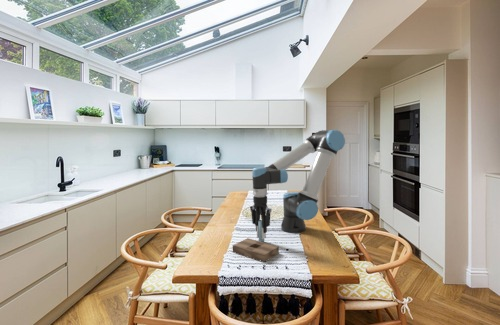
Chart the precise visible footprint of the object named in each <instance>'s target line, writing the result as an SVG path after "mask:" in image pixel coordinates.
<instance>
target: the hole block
mask: <svg viewBox="0 0 500 325" xmlns="http://www.w3.org/2000/svg"><path fill="white" fill-rule="evenodd" d="M279 248H280V247H279V246H278V245H275V244H271V243H267V242H265V241H264V242H260V241H259V240H256V239H252V238H248V237H247V238H245V239H243V240H241V241H238V242H237V243H235V244H233V245H232V253H234V252H236V253H235V254H237V253H239V254H238V255H240V254H242V255H241V256H243V255H245V257H247V256H248V258H250V257H251V258H250V259H253V258H254V259H253V260H256V259H257V260H256V261H259V260H261V261H260V262H262V261H264V262H263V263H266V262H267V261H269V260H270V258H271V259H272V258H274V257H275V256H277V255H279V254H280V253H279V252H280V251H279V250H280V249H279ZM268 259H269V260H268ZM266 260H267V261H266ZM265 261H266V262H265Z"/></svg>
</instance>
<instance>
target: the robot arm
mask: <svg viewBox="0 0 500 325" xmlns="http://www.w3.org/2000/svg"><path fill="white" fill-rule="evenodd" d="M345 144H346V139H345V136H344V134H343V133H342V132H341V131H340V130H338V129H325V130H323V129H322V130H318V131H316V132H315V133H313V134H312V135H310V136H309V137H307V138H306V139H304V140H303V142H302V144H300V145H298V146H297V147H295V148H294V149H292V150H291V151H289V152H287V153H286V154H285V155H283V156H281V157H280V158H279V159H277V160H276V161H274V162H273V163H271V164H270V165H269V166H257V167H254V168H252V175H251V176H252V194H253V199H252V200H253V205H251V206H250V207H249V210H250V212H251V213H250V214H251V220H252V221H251V222H252V225H255V231H256V238H258V239H259V229H258V221H259V220H262V225H263V227H262V239H264V240H265V239H266V238H267V232H268V231H267V230H268V227H269V226H271V213H272V208H269V207H268V187H267V186H268V185H275V184H285V183H287V182H288V179H289V175H288V171H287V170H288V169H289V168H290V167H292V166H293V165H295V164H297V163H298V162H300V161H301V160H302V159H305V157H307V156H308V155H309V154H314V153H315V152H317V154H316V156H315V159H314V161H313V164H312V166H311V168H310V171H309V173H308V175H307V179H306V181H305V183H304V186H303V189H301V190H300V191H291V192H285V193H284V194H283V196H282V200H283V202H282V203H283V218H282V222H281V224H280V226H281V227H280V228H281V230H282V231H283V232H285V233H292V234H294V233H295V234H296V233H301V232H305V231H306V229H307V228H306V222H305V221H309V220H312V219H314V218H315V217H316V216H317V214H318V213H319V206H318V202H319V199H318V194H319V191H320V190H321V187H322V184H323V181H324V180H325V178H326V177H325V176H326V174H327V171H328V169H329V167H330V164H331V161H332V159H333V158H334V157H336V156H337V154H338V151H340V150H342V149H343V148H344V146H345Z"/></svg>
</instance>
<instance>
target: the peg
mask: <svg viewBox="0 0 500 325" xmlns="http://www.w3.org/2000/svg"><path fill="white" fill-rule="evenodd" d="M262 227H263V225H262V219H260V220H259V221H258V229H259V238H258V241H260V242H264V243H265V238H264V239H262Z"/></svg>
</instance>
